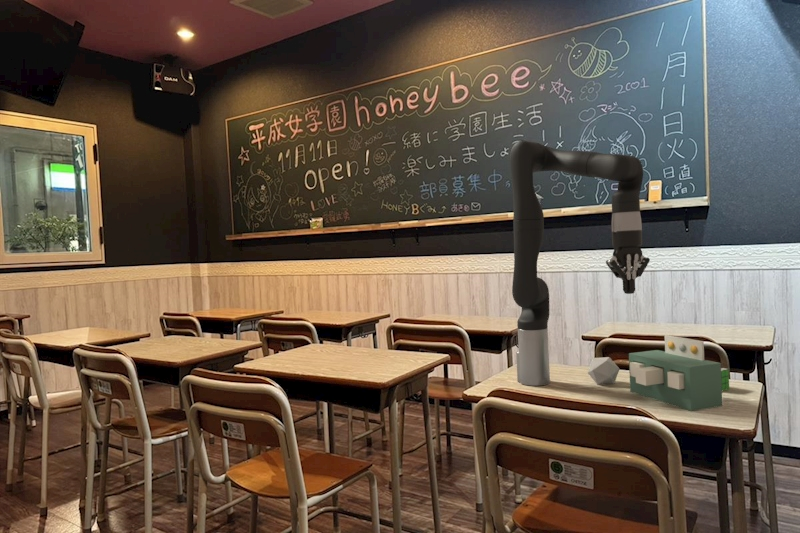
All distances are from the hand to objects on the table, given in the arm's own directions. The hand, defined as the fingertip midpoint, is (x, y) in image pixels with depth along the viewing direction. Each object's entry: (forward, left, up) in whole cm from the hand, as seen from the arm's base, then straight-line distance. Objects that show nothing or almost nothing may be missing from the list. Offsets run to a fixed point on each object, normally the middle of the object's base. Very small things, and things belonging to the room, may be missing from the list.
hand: (629, 293), depth 152 cm
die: (-16, +11, -29) cm, 35 cm away
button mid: (+4, +1, -24) cm, 24 cm away
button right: (+12, +2, -24) cm, 27 cm away
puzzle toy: (+10, +25, -29) cm, 40 cm away
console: (+7, +8, -29) cm, 31 cm away
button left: (-1, +7, -24) cm, 25 cm away
